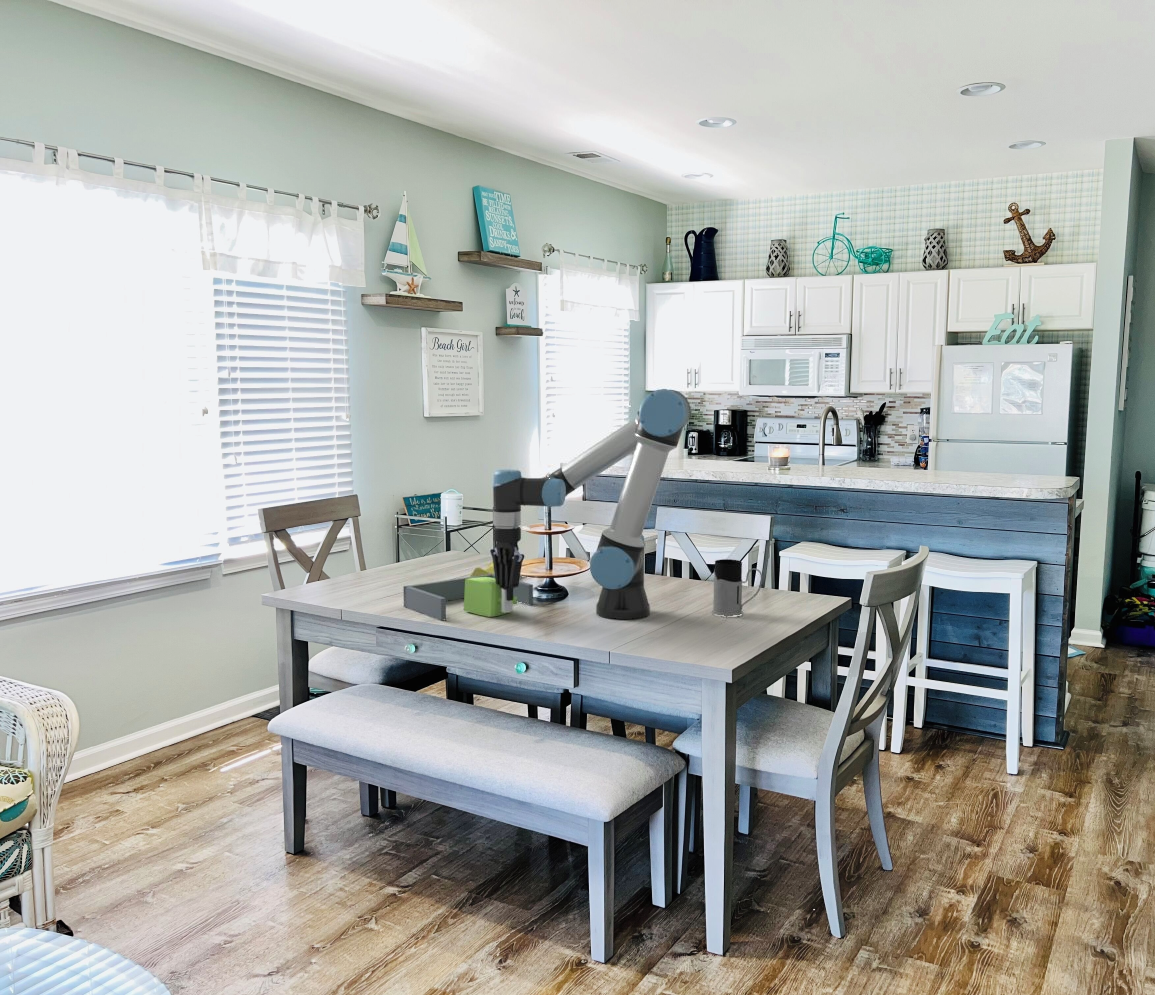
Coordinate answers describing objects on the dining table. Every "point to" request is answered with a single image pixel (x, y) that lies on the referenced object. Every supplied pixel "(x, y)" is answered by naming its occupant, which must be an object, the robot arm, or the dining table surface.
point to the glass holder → (729, 587)
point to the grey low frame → (450, 595)
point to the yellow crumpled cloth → (483, 570)
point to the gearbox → (483, 597)
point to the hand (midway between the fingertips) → (507, 611)
